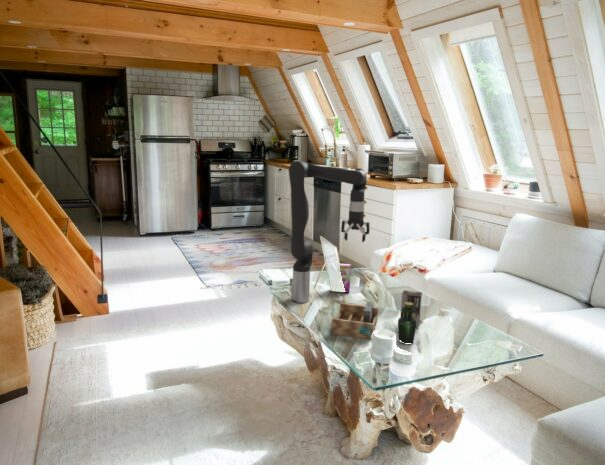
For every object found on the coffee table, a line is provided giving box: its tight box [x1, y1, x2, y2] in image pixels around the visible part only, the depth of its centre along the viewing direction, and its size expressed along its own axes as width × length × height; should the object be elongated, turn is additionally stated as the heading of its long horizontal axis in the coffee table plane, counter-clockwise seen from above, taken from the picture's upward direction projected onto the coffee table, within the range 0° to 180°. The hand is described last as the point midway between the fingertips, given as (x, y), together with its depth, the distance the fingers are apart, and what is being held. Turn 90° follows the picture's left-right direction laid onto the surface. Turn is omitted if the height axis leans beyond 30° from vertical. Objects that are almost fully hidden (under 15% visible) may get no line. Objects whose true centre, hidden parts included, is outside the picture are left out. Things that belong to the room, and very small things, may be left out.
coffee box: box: [400, 290, 423, 329], centre depth 234 cm, size 9×6×16 cm
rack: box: [331, 302, 379, 340], centre depth 229 cm, size 19×23×7 cm
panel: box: [363, 301, 374, 323], centre depth 227 cm, size 3×12×10 cm, turn 165°
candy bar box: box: [338, 262, 352, 294], centre depth 278 cm, size 11×5×16 cm, turn 84°
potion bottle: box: [397, 302, 417, 344], centre depth 214 cm, size 8×8×18 cm
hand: (354, 241), depth 247 cm, fingers open, 8 cm apart
